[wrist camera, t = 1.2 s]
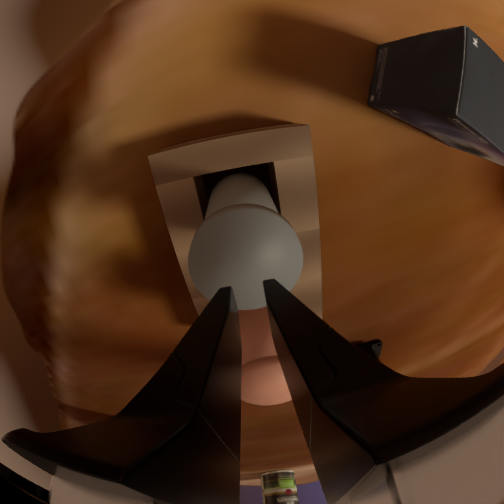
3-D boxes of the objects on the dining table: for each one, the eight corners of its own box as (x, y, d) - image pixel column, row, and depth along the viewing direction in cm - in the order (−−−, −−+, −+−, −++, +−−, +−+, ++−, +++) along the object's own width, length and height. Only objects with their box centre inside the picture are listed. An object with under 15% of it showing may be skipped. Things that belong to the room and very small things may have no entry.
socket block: (311, 310, 27) (322, 337, 23) (215, 327, 27) (214, 356, 24) (294, 123, 18) (309, 124, 15) (162, 148, 19) (147, 156, 15)
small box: (363, 109, 18) (454, 118, 9) (376, 42, 15) (462, 17, 6) (449, 150, 19) (530, 183, 10) (460, 93, 17) (542, 106, 7)
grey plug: (278, 227, 19) (306, 299, 12) (213, 239, 19) (204, 317, 12) (269, 162, 17) (297, 200, 10) (198, 176, 17) (173, 223, 10)
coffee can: (270, 469, 56) (275, 511, 44) (300, 468, 59) (307, 507, 47) (254, 477, 60) (257, 514, 48) (282, 477, 63) (288, 512, 51)
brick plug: (290, 321, 23) (309, 397, 16) (238, 330, 23) (242, 409, 16) (285, 279, 21) (308, 359, 14) (226, 289, 21) (226, 372, 14)
